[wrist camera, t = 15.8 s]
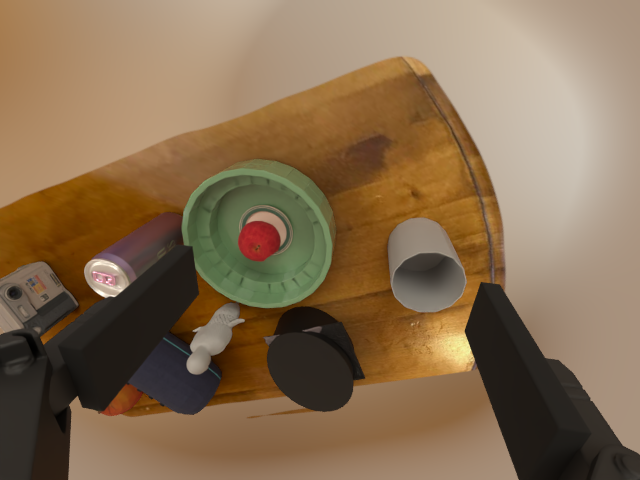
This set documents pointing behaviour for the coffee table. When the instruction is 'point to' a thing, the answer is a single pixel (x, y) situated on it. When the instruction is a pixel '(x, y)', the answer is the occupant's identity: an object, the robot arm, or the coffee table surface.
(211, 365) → the portable speaker
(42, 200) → the coffee table surface
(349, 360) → the tape dispenser
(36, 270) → the camera
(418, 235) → the cup
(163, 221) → the beverage can
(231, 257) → the bowl
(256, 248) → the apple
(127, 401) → the fruit
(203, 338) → the figurine
